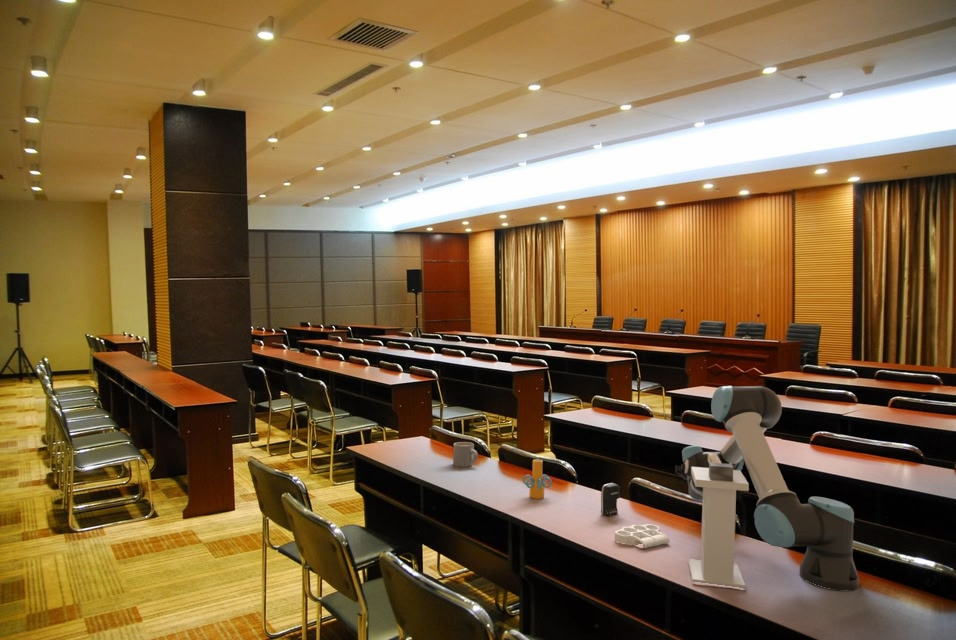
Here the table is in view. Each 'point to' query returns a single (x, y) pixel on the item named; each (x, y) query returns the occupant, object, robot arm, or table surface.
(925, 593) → the table surface
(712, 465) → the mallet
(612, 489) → the battery
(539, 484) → the post with side rings
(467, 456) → the coffee mug
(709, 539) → the stand
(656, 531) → the white compartment tray
